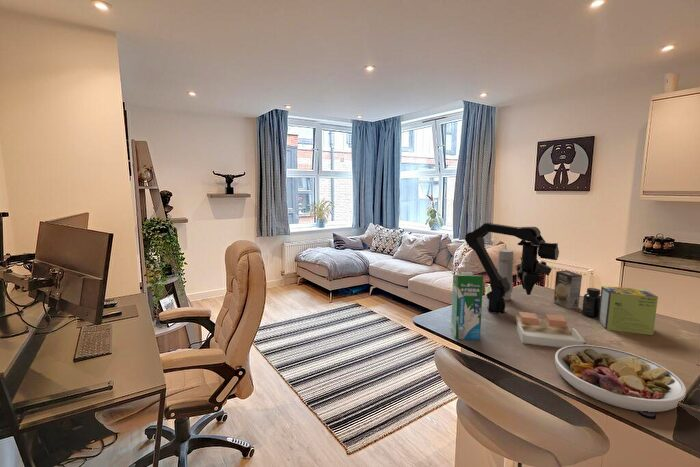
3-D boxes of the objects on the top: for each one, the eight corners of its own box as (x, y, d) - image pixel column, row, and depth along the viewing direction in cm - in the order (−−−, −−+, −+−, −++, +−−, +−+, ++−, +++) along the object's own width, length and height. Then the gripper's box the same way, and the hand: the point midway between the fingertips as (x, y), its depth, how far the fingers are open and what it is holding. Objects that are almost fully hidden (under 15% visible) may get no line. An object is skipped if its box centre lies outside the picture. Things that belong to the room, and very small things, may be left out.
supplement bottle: (604, 318, 148) (607, 291, 146) (588, 318, 148) (591, 291, 146) (593, 312, 155) (596, 286, 153) (578, 312, 155) (580, 286, 153)
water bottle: (491, 297, 176) (494, 249, 172) (504, 295, 178) (507, 248, 175) (504, 303, 167) (507, 253, 164) (517, 301, 170) (521, 252, 166)
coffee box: (552, 302, 168) (555, 270, 165) (563, 301, 169) (566, 270, 167) (568, 309, 159) (571, 275, 156) (579, 308, 160) (582, 274, 158)
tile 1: (521, 322, 139) (521, 317, 139) (518, 317, 145) (519, 311, 144) (537, 324, 137) (538, 318, 137) (534, 318, 143) (535, 313, 142)
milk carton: (473, 329, 137) (476, 269, 134) (480, 340, 129) (483, 275, 125) (450, 329, 138) (453, 269, 135) (455, 339, 129) (458, 275, 126)
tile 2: (549, 325, 136) (549, 319, 136) (545, 320, 142) (545, 314, 141) (566, 327, 134) (566, 321, 134) (561, 321, 140) (562, 315, 140)
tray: (522, 343, 126) (522, 335, 125) (516, 329, 137) (517, 322, 137) (585, 350, 120) (585, 342, 119) (574, 336, 131) (574, 328, 131)
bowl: (561, 349, 122) (563, 328, 120) (677, 379, 103) (681, 355, 102) (545, 388, 99) (547, 363, 97) (690, 437, 80) (695, 406, 79)
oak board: (519, 330, 137) (519, 325, 136) (515, 320, 146) (515, 316, 146) (571, 335, 131) (571, 331, 131) (563, 325, 141) (563, 321, 141)
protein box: (653, 335, 131) (658, 296, 129) (606, 330, 136) (610, 292, 134) (641, 324, 141) (645, 288, 139) (597, 320, 146) (600, 285, 144)
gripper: (557, 262, 134) (553, 300, 136) (544, 253, 151) (541, 287, 154) (525, 260, 137) (522, 298, 139) (517, 251, 154) (514, 284, 157)
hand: (526, 291), depth 147 cm, fingers open, 8 cm apart
